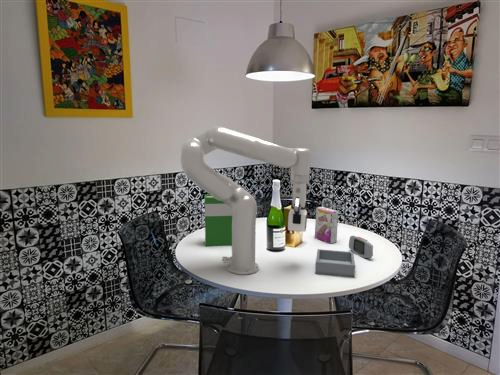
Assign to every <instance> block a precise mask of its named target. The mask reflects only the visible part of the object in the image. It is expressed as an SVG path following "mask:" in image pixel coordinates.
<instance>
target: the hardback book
mask: <svg viewBox="0 0 500 375" xmlns="http://www.w3.org/2000/svg"><path fill="white" fill-rule="evenodd" d="M232 215H233V211H232V208H231V207H230V206H228V205H227V204H225V203H224V202H223V201H219V200H217V199H215V198H214V197H213V196H211V195H210V194H209V193H208V194H204V236H205V237H204V238H205V239H204V240H205V241H204V242H205V247H232Z"/></svg>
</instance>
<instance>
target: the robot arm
mask: <svg viewBox="0 0 500 375" xmlns="http://www.w3.org/2000/svg"><path fill="white" fill-rule="evenodd" d="M215 150H221V151H224V152H227V153H230V154H234V155H238V156H240V157H241V156H242V157H244V158H248V159H251V160H256V161H259V162H260V161H261V162H264V163H267V164H270V165H272V166H273V165H274V166H277V167H280V168H285V169H290V181H289V182H290V183H292V206H293V207H294V213H293V224H301V207H303V208H304V207H305V202H306V203H307V185H308V184H309V183H310V172H311V171H310V170H311V155H312V154H311V149H309V148H307V147H306V148H305V147H295V148H293V147H286V146H282V145H279V144H275V143H272V142H269V141H266V140H263V139H261V138H258V137H256V136H253V135H250V134H248V133H247V134H246V133H244V132H241V131H238V130H234V129H231V128H228V127H224V126H220V125H216V126H213V127H210V128H209V129H207V130H205V131H203V132H201V133H199V134H196V135H194V136H193V137H190V138H188V139H187V140H185V141H184V142H183V143H182V145H181V148H180V151H181V153H180V155H181V156H180V165H181V168H182V171H183V173H184V175H185V176H186V177H187V179H189V180H190V181H191V182H192V183H194V184H196V186H198V187H199V188H200V189H202V190H203V191H204V192H206V193H207V194H208V195H209V194H210V195H211V196H213V197H214V198H215V199H217V200H219V201H223V202H224V203H225V204H227V205H228V206H230V207H231V208H232V211H233V215H232V246H231V256H222V258H221V261H222V262H223V264H228V265H227V269H228V271H229V272H230V273H232V274H235V275H240V276H241V275H243V276H244V275H251V274H256V273H257V272H258V271H259V269H260V265H259V264H258V263H257V262H256V225H257V223H256V221H257V214H258V206H257V201H256V198H254V196H253V195H252V194H250V193H249V191H247V190H246V189H244V188H243V187H242V186H240V185H239V184H237V183H236V182H235V181H233V179H231V178H229V177H228V176H227V175H225V174H220V173H219V172H218V171H216V170H215V169H213V167H211V166H209V165H208V164H207V163H206V161H205V159H204V158H205V157H204V156H206V155H208V154H210V153H212V152H213V151H215ZM299 205H300V207H299Z"/></svg>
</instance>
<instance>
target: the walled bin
mask: <svg viewBox="0 0 500 375" xmlns="http://www.w3.org/2000/svg"><path fill="white" fill-rule="evenodd" d="M354 254H355V253H354V252H353V251H346V250H345V251H343V250H331V249H322V248H321V249H319V248H317V250H316V258H315V275H323V276H325V275H326V276H334V277H344V278H354V279H355V275H356V274H355V272H356V263H355V262H356V261H355V255H354Z"/></svg>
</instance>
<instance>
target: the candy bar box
mask: <svg viewBox="0 0 500 375" xmlns="http://www.w3.org/2000/svg"><path fill="white" fill-rule="evenodd" d="M338 221H339V210H335V209H331V208H328V207H325V206H317V207H316V208H315V228H314V230H315V231H314V239H317V240H319V241H322V242H324V243H327V244H329V245H331V244H335V243H337V241H338V240H337V239H338V224H339V222H338Z"/></svg>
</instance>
